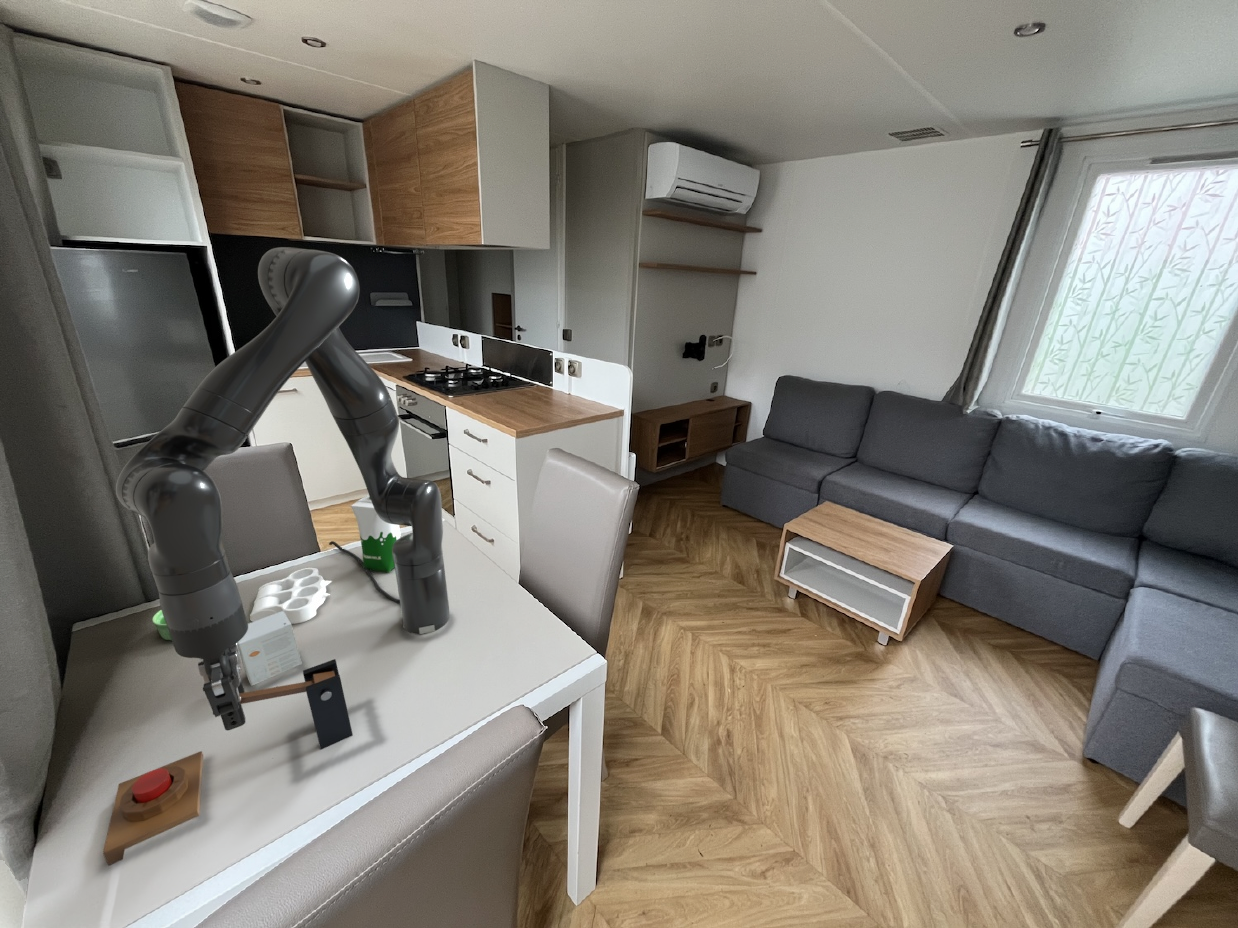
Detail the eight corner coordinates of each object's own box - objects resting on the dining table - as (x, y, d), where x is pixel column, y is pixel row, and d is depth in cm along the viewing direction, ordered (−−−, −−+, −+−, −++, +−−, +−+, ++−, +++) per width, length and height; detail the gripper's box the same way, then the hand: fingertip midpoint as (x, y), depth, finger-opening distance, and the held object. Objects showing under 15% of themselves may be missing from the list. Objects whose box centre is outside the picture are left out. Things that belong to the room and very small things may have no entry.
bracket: (298, 778, 72) (279, 710, 68) (293, 735, 79) (275, 671, 74) (379, 740, 78) (367, 676, 74) (368, 703, 85) (356, 643, 81)
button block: (124, 795, 69) (114, 774, 68) (205, 761, 74) (198, 741, 73) (108, 865, 61) (97, 844, 59) (202, 822, 66) (193, 801, 64)
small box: (296, 654, 96) (284, 609, 92) (304, 669, 92) (292, 623, 88) (246, 675, 90) (231, 628, 87) (252, 692, 87) (237, 644, 83)
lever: (223, 721, 66) (225, 705, 65) (224, 697, 69) (226, 682, 69) (335, 698, 74) (337, 684, 73) (330, 678, 78) (332, 665, 77)
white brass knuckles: (263, 588, 116) (334, 574, 122) (249, 635, 101) (330, 616, 107) (260, 576, 115) (331, 562, 121) (245, 621, 100) (328, 602, 106)
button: (138, 786, 67) (134, 777, 66) (173, 772, 69) (169, 763, 68) (134, 808, 64) (129, 799, 63) (170, 793, 66) (166, 783, 65)
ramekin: (158, 649, 96) (151, 630, 95) (158, 626, 103) (152, 608, 101) (216, 630, 102) (210, 612, 100) (213, 609, 108) (207, 592, 107)
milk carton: (410, 556, 131) (400, 487, 124) (389, 575, 122) (377, 501, 115) (379, 553, 132) (368, 484, 125) (357, 571, 124) (344, 498, 117)
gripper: (241, 629, 60) (271, 734, 65) (240, 574, 70) (266, 669, 76) (158, 653, 55) (198, 764, 61) (171, 591, 66) (204, 690, 72)
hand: (236, 711), depth 69 cm, fingers closed on lever, 5 cm apart
